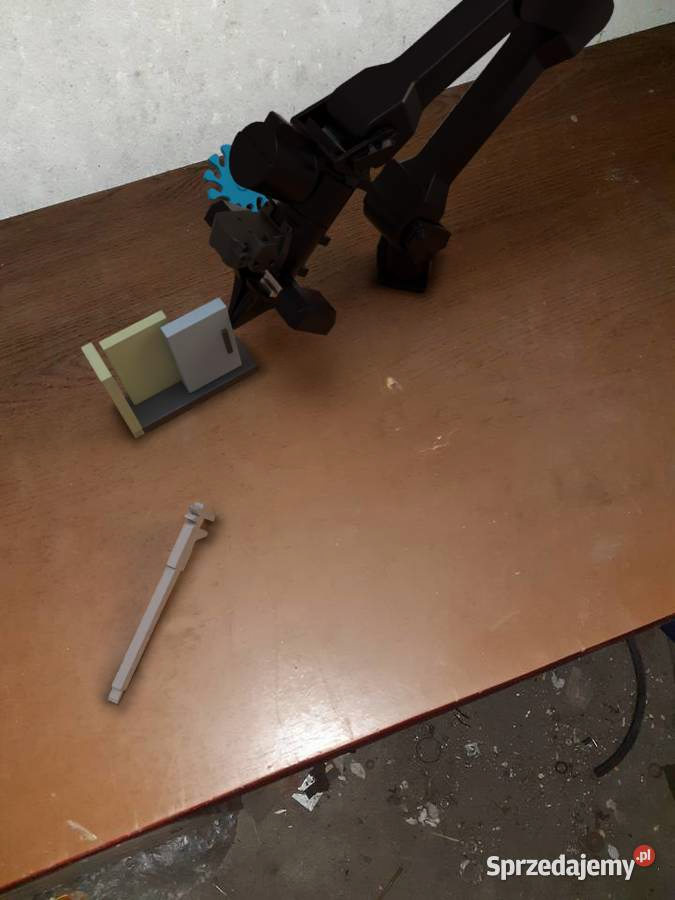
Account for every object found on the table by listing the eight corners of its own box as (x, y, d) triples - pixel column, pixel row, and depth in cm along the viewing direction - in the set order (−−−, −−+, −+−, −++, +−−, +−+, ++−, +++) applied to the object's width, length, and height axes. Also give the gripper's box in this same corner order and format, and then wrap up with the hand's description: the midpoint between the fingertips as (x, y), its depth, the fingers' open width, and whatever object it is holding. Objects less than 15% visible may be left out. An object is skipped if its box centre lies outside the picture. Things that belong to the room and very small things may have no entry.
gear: (227, 231, 91) (193, 155, 87) (212, 238, 96) (180, 166, 92) (295, 202, 95) (266, 128, 92) (277, 210, 100) (249, 140, 97)
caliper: (207, 515, 74) (194, 492, 69) (216, 518, 74) (204, 495, 69) (109, 700, 66) (85, 690, 60) (119, 705, 66) (96, 695, 60)
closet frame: (238, 342, 85) (220, 274, 74) (259, 370, 83) (244, 304, 72) (117, 407, 81) (79, 346, 70) (135, 438, 79) (100, 380, 68)
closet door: (235, 355, 82) (219, 296, 73) (243, 367, 81) (228, 308, 72) (183, 384, 81) (159, 327, 71) (191, 395, 80) (168, 340, 70)
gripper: (202, 132, 67) (133, 261, 75) (305, 251, 60) (216, 381, 67) (279, 166, 76) (210, 278, 84) (376, 273, 69) (291, 386, 76)
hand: (230, 326), depth 77 cm, fingers closed
